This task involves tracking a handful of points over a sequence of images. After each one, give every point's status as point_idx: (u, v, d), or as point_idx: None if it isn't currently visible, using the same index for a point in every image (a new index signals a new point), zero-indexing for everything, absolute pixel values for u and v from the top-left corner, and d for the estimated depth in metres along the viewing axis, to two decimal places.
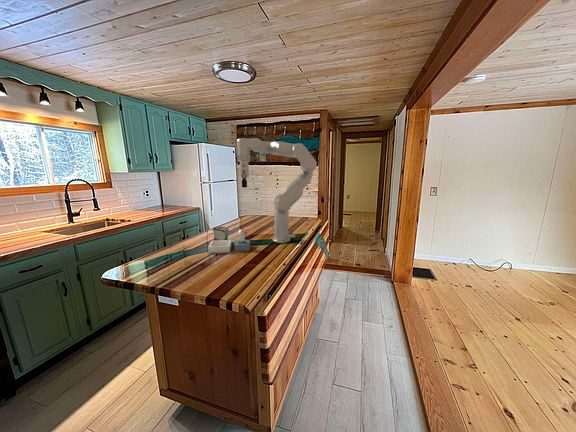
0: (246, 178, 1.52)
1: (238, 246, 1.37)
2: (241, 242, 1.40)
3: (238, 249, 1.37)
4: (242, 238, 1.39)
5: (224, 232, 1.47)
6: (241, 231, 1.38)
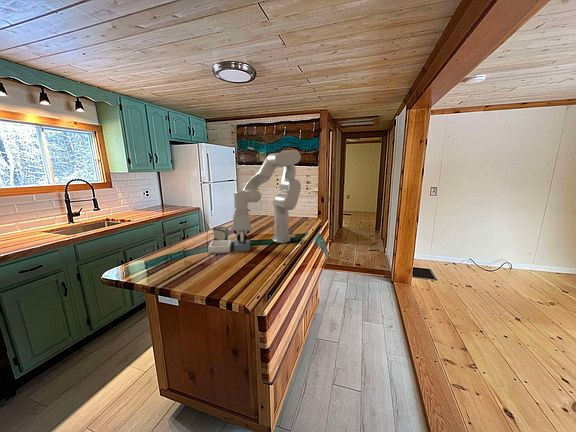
0: None
1: (238, 246, 1.37)
2: (241, 242, 1.40)
3: (238, 249, 1.37)
4: (242, 238, 1.39)
5: (224, 232, 1.47)
6: (241, 231, 1.38)
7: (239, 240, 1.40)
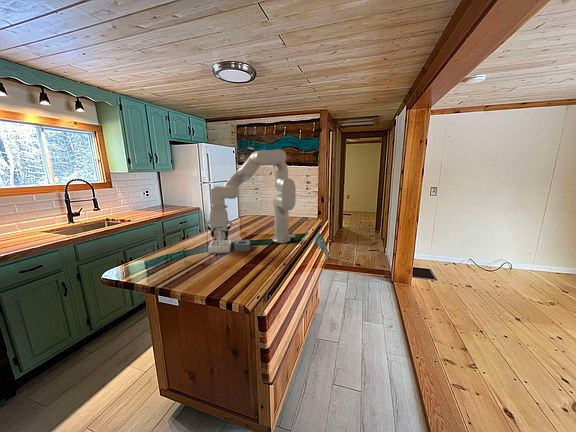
0: None
1: (238, 246, 1.37)
2: (219, 241, 1.38)
3: (238, 249, 1.37)
4: (220, 237, 1.37)
5: (224, 232, 1.47)
6: (218, 230, 1.36)
7: (213, 236, 1.37)
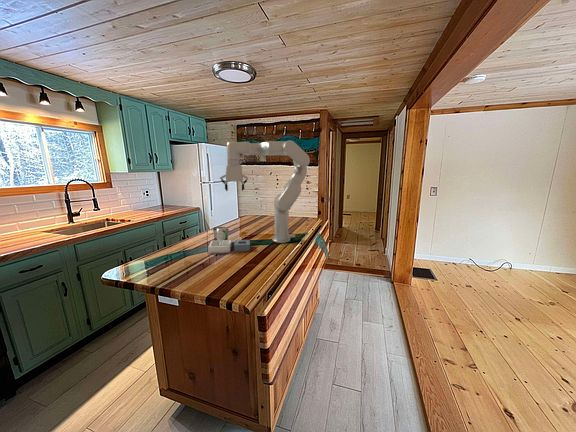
0: (227, 182, 1.46)
1: (238, 246, 1.37)
2: (219, 241, 1.38)
3: (238, 249, 1.37)
4: (220, 237, 1.37)
5: (224, 232, 1.47)
6: (219, 230, 1.36)
7: (227, 189, 1.45)
